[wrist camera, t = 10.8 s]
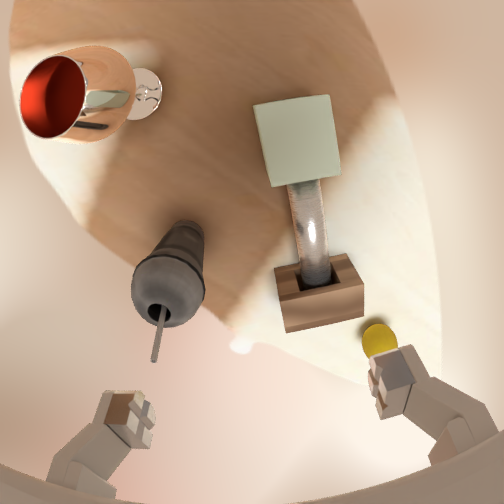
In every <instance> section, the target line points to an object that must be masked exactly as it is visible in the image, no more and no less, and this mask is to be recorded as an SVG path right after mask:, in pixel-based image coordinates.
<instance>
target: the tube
mask: <svg viewBox="0 0 504 504" xmlns="http://www.w3.org/2000/svg"><path fill="white" fill-rule="evenodd" d="M287 190H288V196H289V201H290V207H291V213H292V218H293V224H294V230H295V236H296V242H297V249H298V255H299V261H300V268H301V274H302V281H303V288H304V291H305V290H310V289H315V288H320V287H324V286H329V285H332V283H331V272H330V261H329V251H328V241H327V232H326V224H325V216H324V208H323V200H322V193H321V185H320V178H319V179H314V180H308V181H303V182H297V183H292V184H287Z"/></svg>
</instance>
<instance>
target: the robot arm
mask: <svg viewBox="0 0 504 504" xmlns="http://www.w3.org/2000/svg"><path fill="white" fill-rule="evenodd" d="M369 364H370V367H371V369H370V370H369V371H368V382H369V387H370V391H371V394H372V396H374V397H375V398H377V399H376V408H377V411H378V414H379V417H380V420H383V419H386V418H390V417H394V416H397V415H400V414H403V415H404V416H405V417H407V418H408V419H409V420H411V421H412V422H413V423H414V424H416V425H417V426H418V427H420V428H421V429H422V430H423V431H425V432H426V433H427V434H429V435H430V436H431V437H432V438H434V439H435V440H436V441H437V442H436V444H435V445H434V447H433V448H432V450H431V452H430V453H429V455H428V457H429V460H430V463H431V466H430V467H428V468H425V469H423V470H420V471H417V472H415V473H412V474H410V475H407V476H404V477H401V478H398V479H395V480H392V481H389V482H386V483H383V484H379V485H376V486H373V487H369V488H365V489H361V490H357V491H354V492H350V493H345V494H341V495H336V496H332V497H327V498H321V499H316V500H310V501H304V502H297V503H290V504H504V430H502V431H500V432H499V431H498V429H497V427H496V425H495V423H494V421H493V419H492V418H491V416H490V414H489V412H488V410H487V408H486V406H485V404H483V403H482V402H480V401H478V400H476V399H474V398H472V397H471V396H469V395H467V394H465V393H463V392H461V391H459V390H457V389H456V388H454V387H452V386H450V385H448V384H447V383H445V382H443V381H441V380H439V379H438V378H436V377H431V378H430V376H429V374H428V372H427V370H426V368H425V367H424V365H423V363H422V361H421V359H420V357H419V356H418V354H417V352H416V350H415V348H414V347H413V346H412V345H411V344H410V345H406V346H403V347H400V348H395V349H392V350H389V351H386V352H382V353H379V354H375V355H372V356H370V358H369ZM144 398H145V395H144V394H143V393H142V392H141V391H113V390H112V391H111V390H108V391H107V390H106V391H105V392H104V393H103V394H102V397H101V399H100V402H99V405H98V408H97V411H96V414H95V417H94V419H93V422H92V423H89V424H88V425H87V426H86V427H85V428H84V429H83V430H81V431H80V432H79V433H78V434H77V435H76V436H75V437H74V438H73V439H72V440H71V441H70V442H68V443H67V444H66V445H65V446H64V447H63V448H62V449H61V450H60V451H59V452H58V453H56V454H55V455H54V457H53V460H52V463H51V466H50V469H49V472H48V476H47V479H46V481H43V480H41V479H37V478H35V477H32V476H29V475H27V474H24V473H21V472H19V471H16V470H14V469H12V468H9V467H7V466H5V465H2V464H0V504H143V503H135V502H129V501H123V500H117V499H115V496H116V488H115V487H114V486H113V485H111V484H110V483H108V482H107V480H108V479H109V477H110V476H111V475H112V473H113V472H114V471H115V470H116V468H117V467H118V466H119V465H120V463H121V462H122V461H123V459H124V458H125V457H126V456H127V454H128V453H129V452H130V450H131V449H130V448H136V449H150V445H151V441H152V433H151V431H150V429H151V428H152V427H153V426H154V425H155V419H156V417H155V410H154V408H153V406H152V405H151V403H149V402H148V401H146V400H144Z"/></svg>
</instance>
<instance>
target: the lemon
mask: <svg viewBox="0 0 504 504" xmlns="http://www.w3.org/2000/svg"><path fill="white" fill-rule="evenodd" d="M362 347H363V350H364V353H365V354H366V356H367V357H368V358H370V356H372V355H375V354H379V353H382V352H386V351H389V350H392V349H395V348H398V343H397V339H396V336H395V334H394V332H393V331H392V330H391V329H390V328H389V327H388V326H386V325H384V324H374V325H372V326H370V327H369V328H368V329H367V330H366V331H365V332H364V334H363V337H362Z"/></svg>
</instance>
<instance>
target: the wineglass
mask: <svg viewBox="0 0 504 504" xmlns="http://www.w3.org/2000/svg"><path fill="white" fill-rule="evenodd" d="M161 98H162V85H161V82H160V80H159V78H158V77H157V75H156V74H155V73H153V72H152V71H150V70H148V69H144V68H135V69H132V67H131V65H130V64H129V62H128V61H127V60H126V59H125V58H124V57H123V56H122V55H121V54H120V53H118V52H117V51H115V50H113V49H110V48H107V47H103V46H86V47H80V48H75V49H71V50H68V51H64V52H61V53H58V54H55V55H52V56H49V57H47V58H45V59H43V60H42V61H40V62H39V63H38V64H37V65H35V66H34V68H33V69H32V70H31V71H30V73H29V74H28V76H27V77H26V79H25V81H24V84H23V87H22V90H21V94H20V113H21V117H22V120H23V123H24V124H25V126H26V128H27V129H28V130H29V131H30V132H31V133H32V134H33V135H35V136H36V137H39V138H42V139H47V140H52V141H57V142H63V143H70V144H88V143H93V142H97V141H99V140H102V139H104V138H106V137H108V136H109V135H111V134H112V133H114V132H115V131H116V130H117V129H118V128H119V127H120V126H121V125H122V124H123V123H124V121H125V120H126V119H129V120H139V119H143V118H145V117H147V116H149V115H150V114H152V113H153V112H154V111H155V110H156V108H157V107H158V105H159V103H160V101H161Z"/></svg>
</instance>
